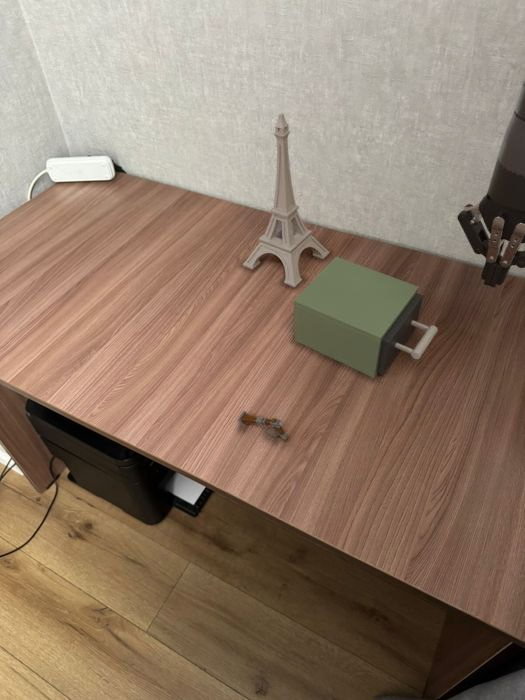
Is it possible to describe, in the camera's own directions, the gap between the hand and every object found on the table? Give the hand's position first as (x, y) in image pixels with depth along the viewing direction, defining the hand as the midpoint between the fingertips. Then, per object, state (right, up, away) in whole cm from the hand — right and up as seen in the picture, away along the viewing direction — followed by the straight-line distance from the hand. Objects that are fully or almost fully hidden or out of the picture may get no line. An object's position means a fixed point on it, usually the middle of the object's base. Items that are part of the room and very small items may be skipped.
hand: (491, 282), depth 64 cm
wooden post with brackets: (-30, -21, +11) cm, 39 cm away
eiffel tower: (-25, +10, +39) cm, 48 cm away
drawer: (-11, -7, +21) cm, 25 cm away
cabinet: (-14, -6, +23) cm, 28 cm away
